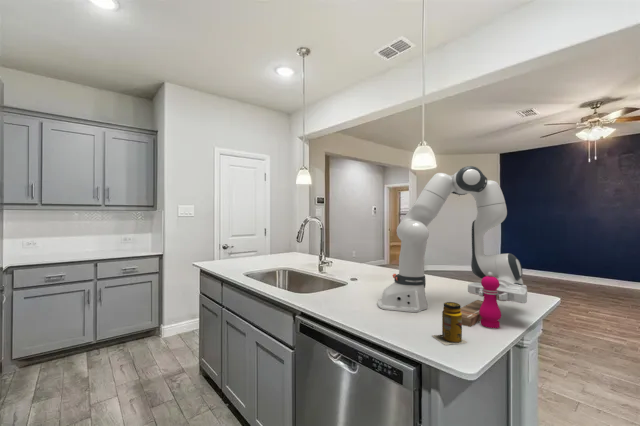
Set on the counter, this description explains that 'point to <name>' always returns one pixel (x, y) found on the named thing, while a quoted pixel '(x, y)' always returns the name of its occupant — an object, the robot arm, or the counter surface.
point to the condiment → (451, 324)
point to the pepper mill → (490, 302)
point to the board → (471, 313)
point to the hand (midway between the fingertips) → (489, 295)
